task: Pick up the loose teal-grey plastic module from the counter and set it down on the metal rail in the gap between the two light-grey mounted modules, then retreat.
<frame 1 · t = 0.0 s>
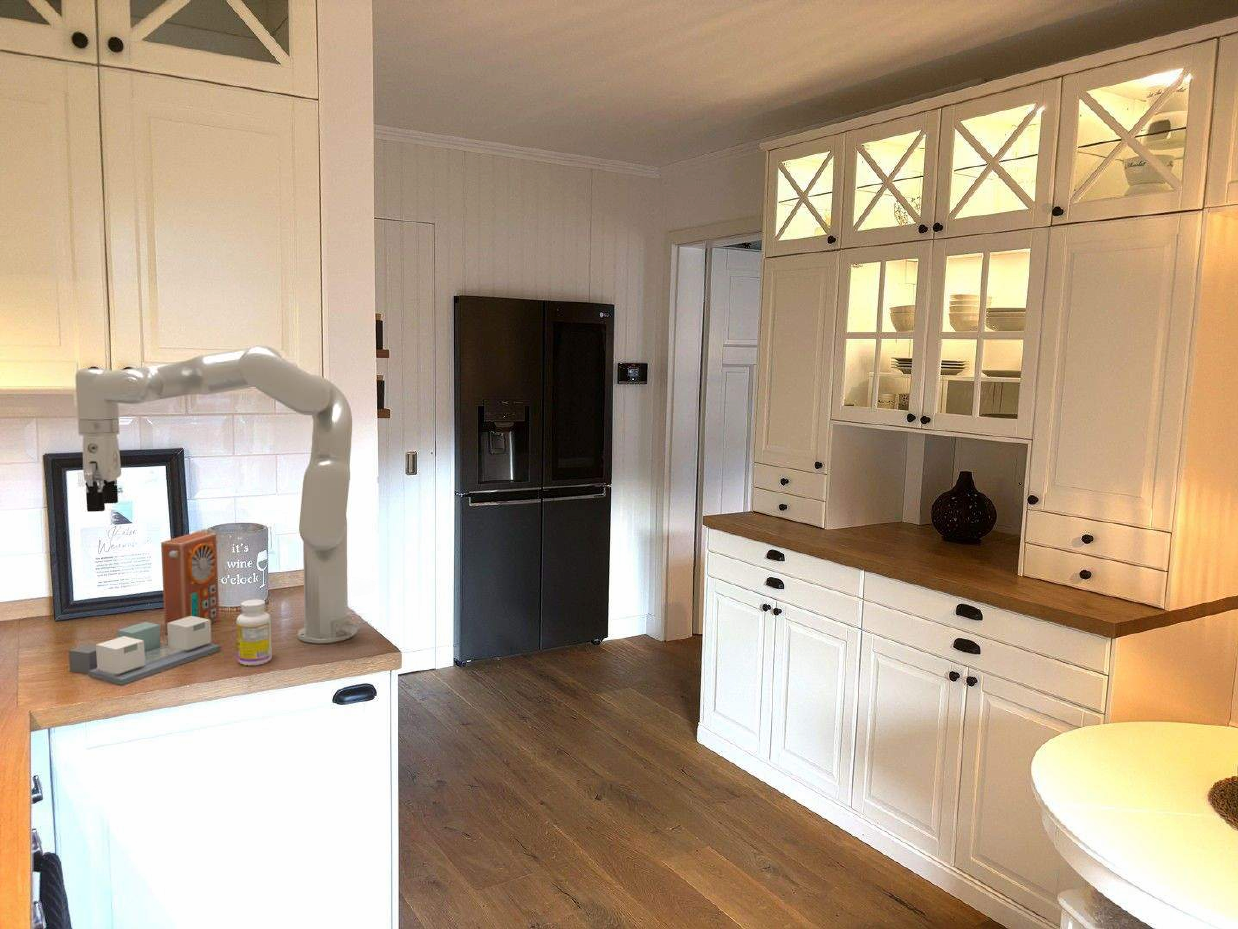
hand: (103, 507, 191), 31 cm above the countertop, tool pointing down, fingers open, 9 cm apart
mounted modules: (156, 643, 186), on the rail, point 4 cm above the countertop
control panel: (192, 627, 211), on the countertop
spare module: (90, 669, 182), on the countertop
module: (140, 654, 191), on the countertop
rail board: (157, 663, 186), on the countertop
supplement bottle: (255, 662, 189), on the countertop
rail: (157, 656, 186), on the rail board, point 1 cm above the countertop
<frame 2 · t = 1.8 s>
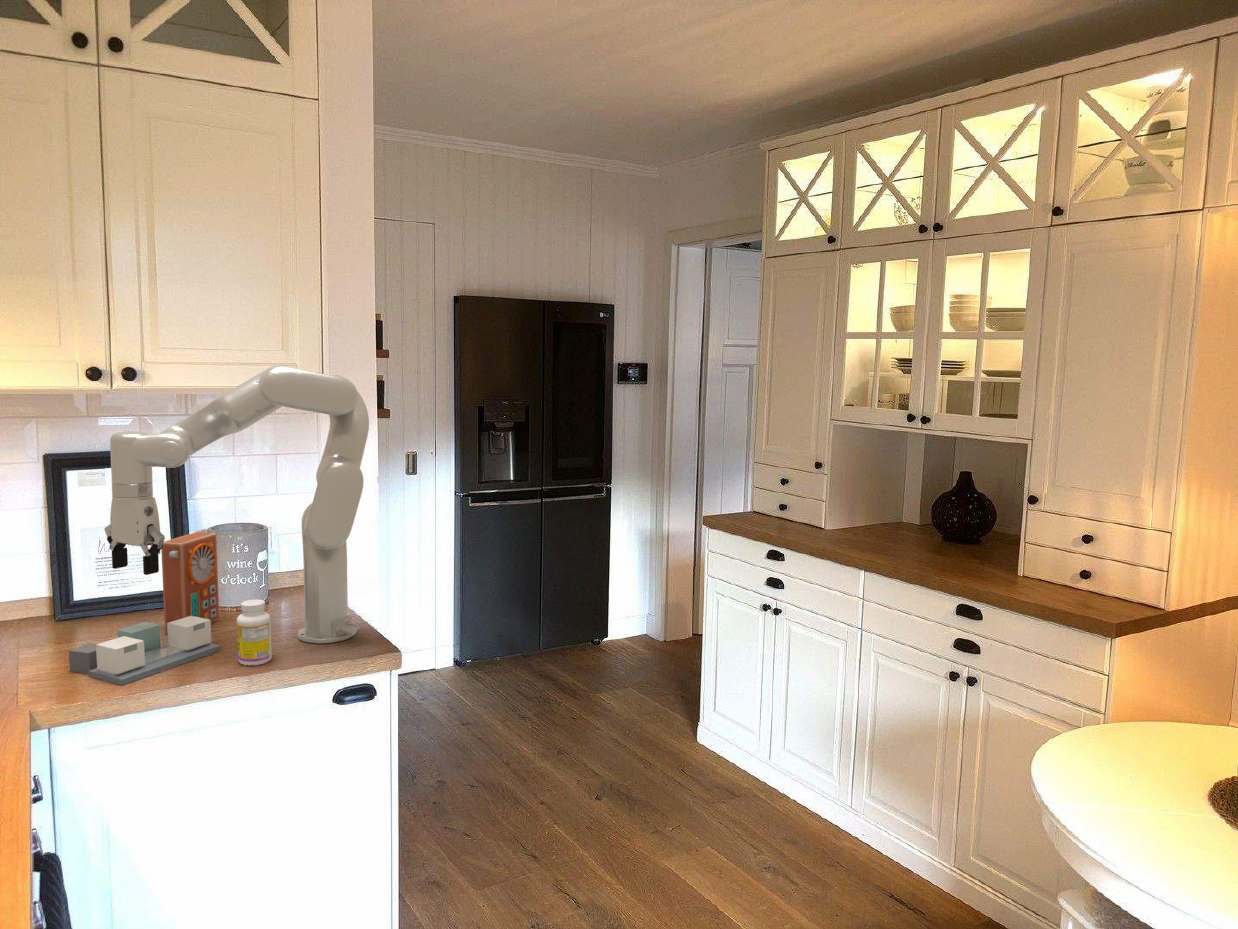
hand: (135, 570, 189), 18 cm above the countertop, tool pointing down, fingers open, 9 cm apart
nothing on the countertop moved.
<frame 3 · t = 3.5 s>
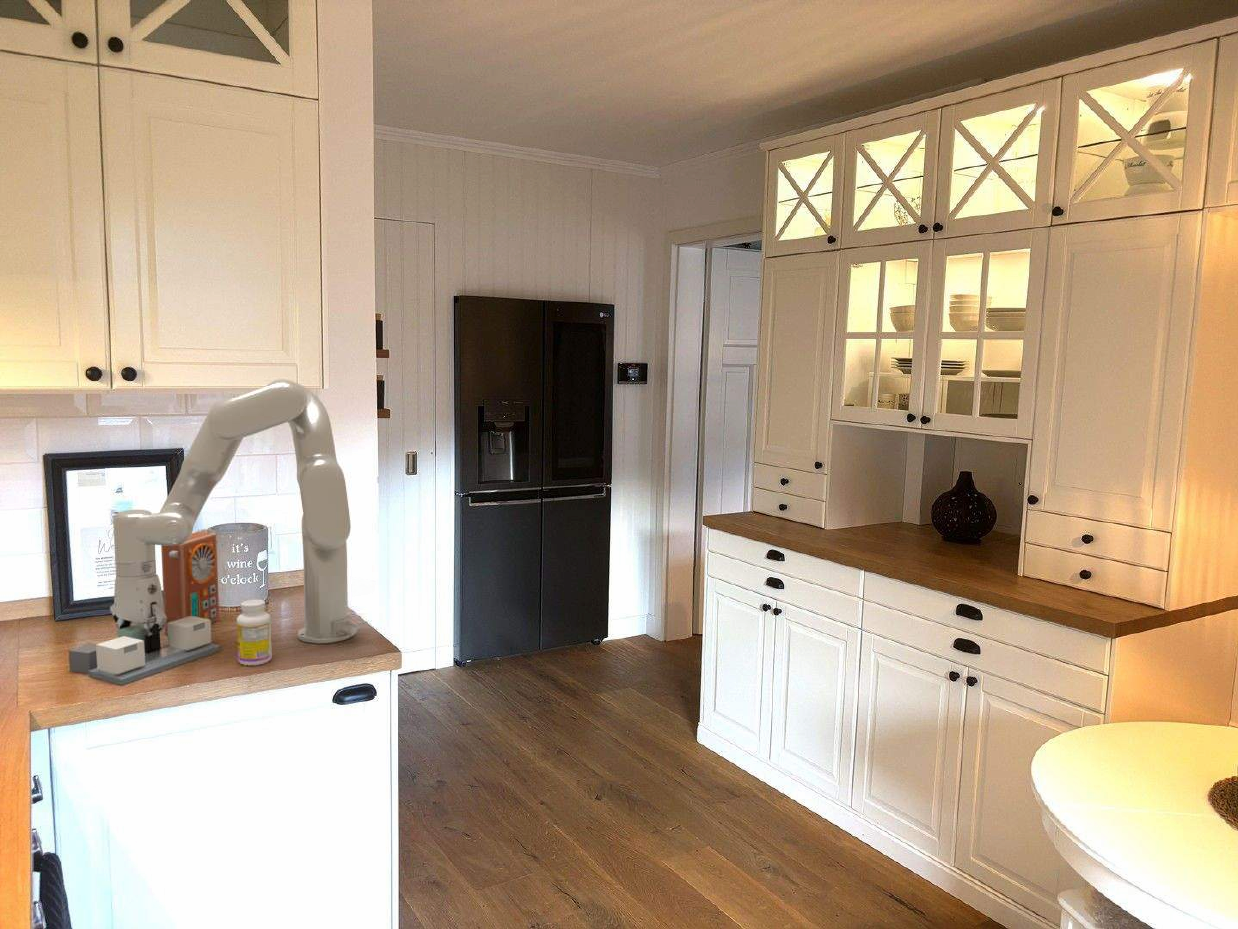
hand: (139, 648, 191), 1 cm above the countertop, tool pointing down, fingers open, 7 cm apart
nothing on the countertop moved.
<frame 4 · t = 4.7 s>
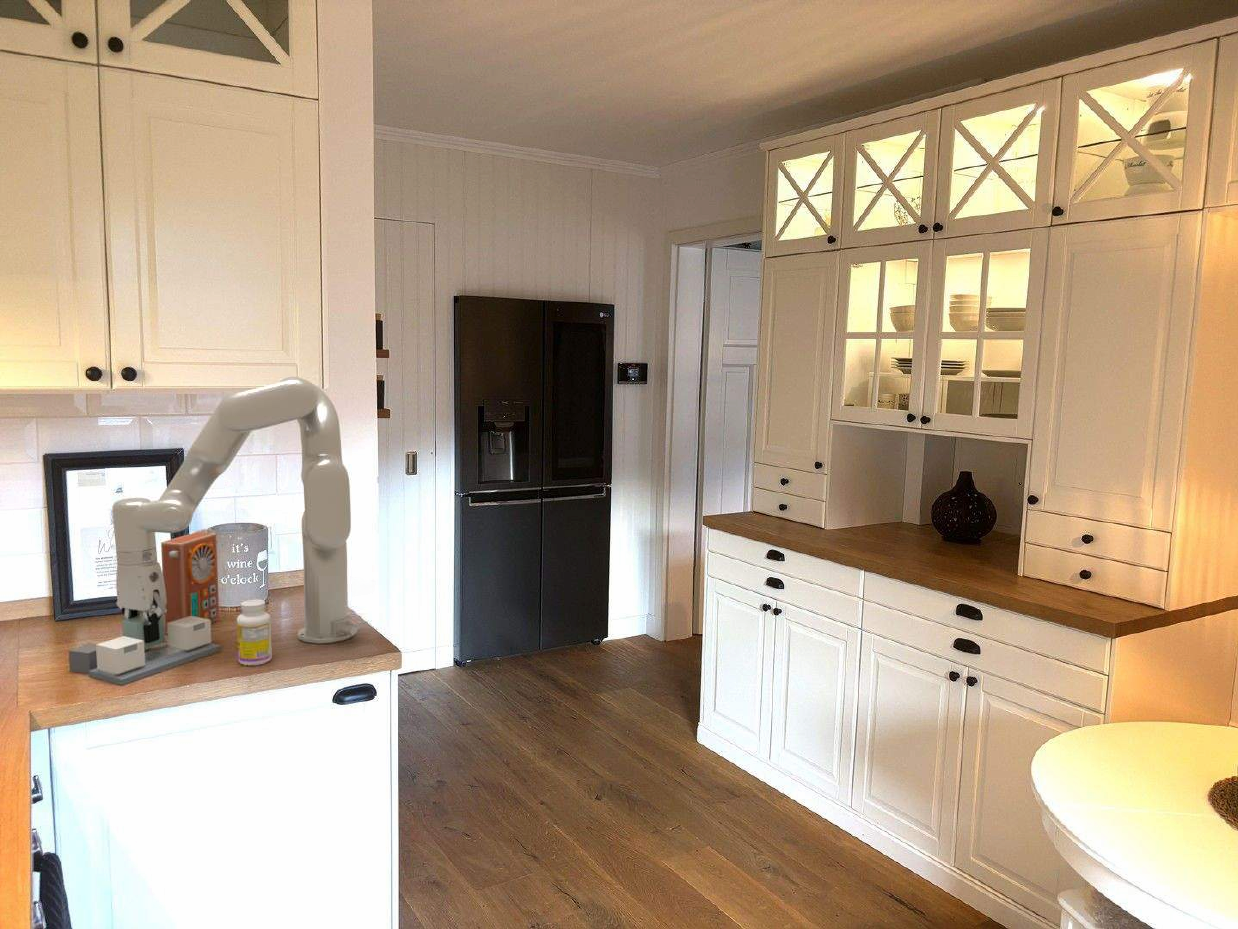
hand: (144, 638, 191), 3 cm above the countertop, tool pointing down, fingers closed on module, 4 cm apart
module: (145, 645, 192), point 2 cm above the countertop, touching gripper
everything else where it was.
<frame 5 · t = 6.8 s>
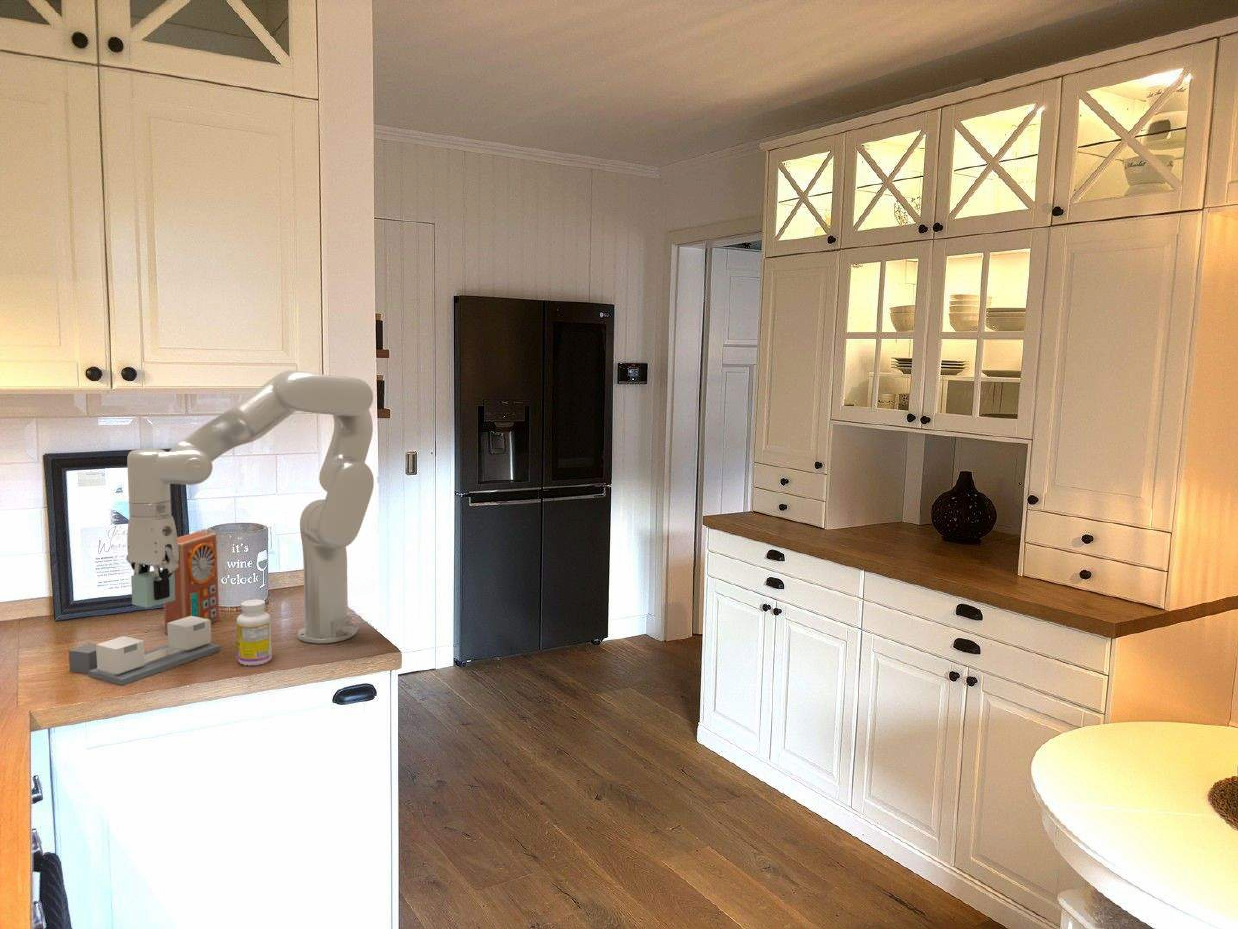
hand: (153, 595, 184), 14 cm above the countertop, tool pointing down, fingers closed on module, 4 cm apart
module: (153, 602, 185), point 13 cm above the countertop, touching gripper
everything else where it was.
when the fingers open (3 cm above the countertop, at t = 9.0 s): module stays where it is, resting on rail.
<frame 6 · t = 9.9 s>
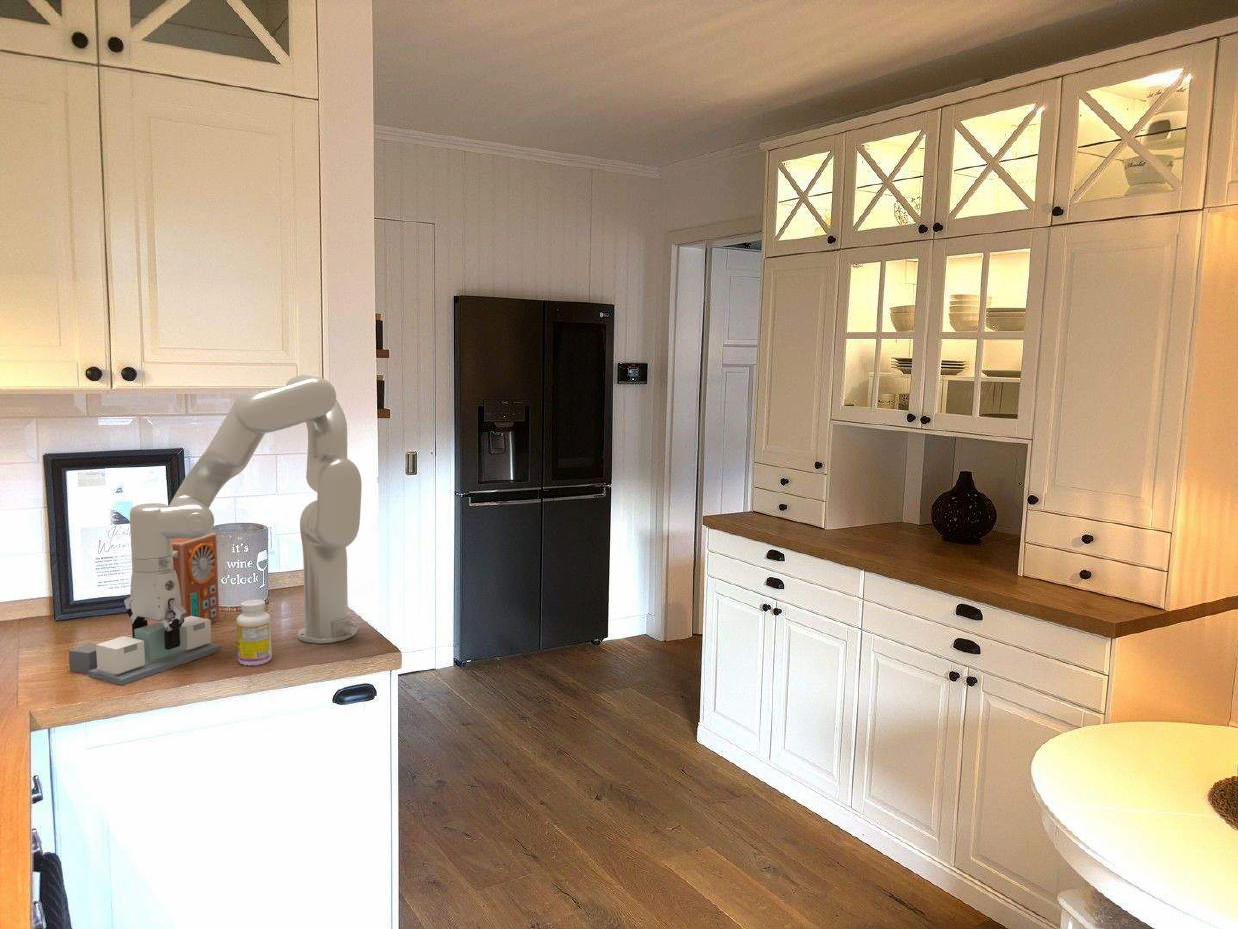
hand: (156, 644, 186), 4 cm above the countertop, tool pointing down, fingers open, 9 cm apart
module: (157, 654, 186), point 2 cm above the countertop, touching rail
everything else where it was.
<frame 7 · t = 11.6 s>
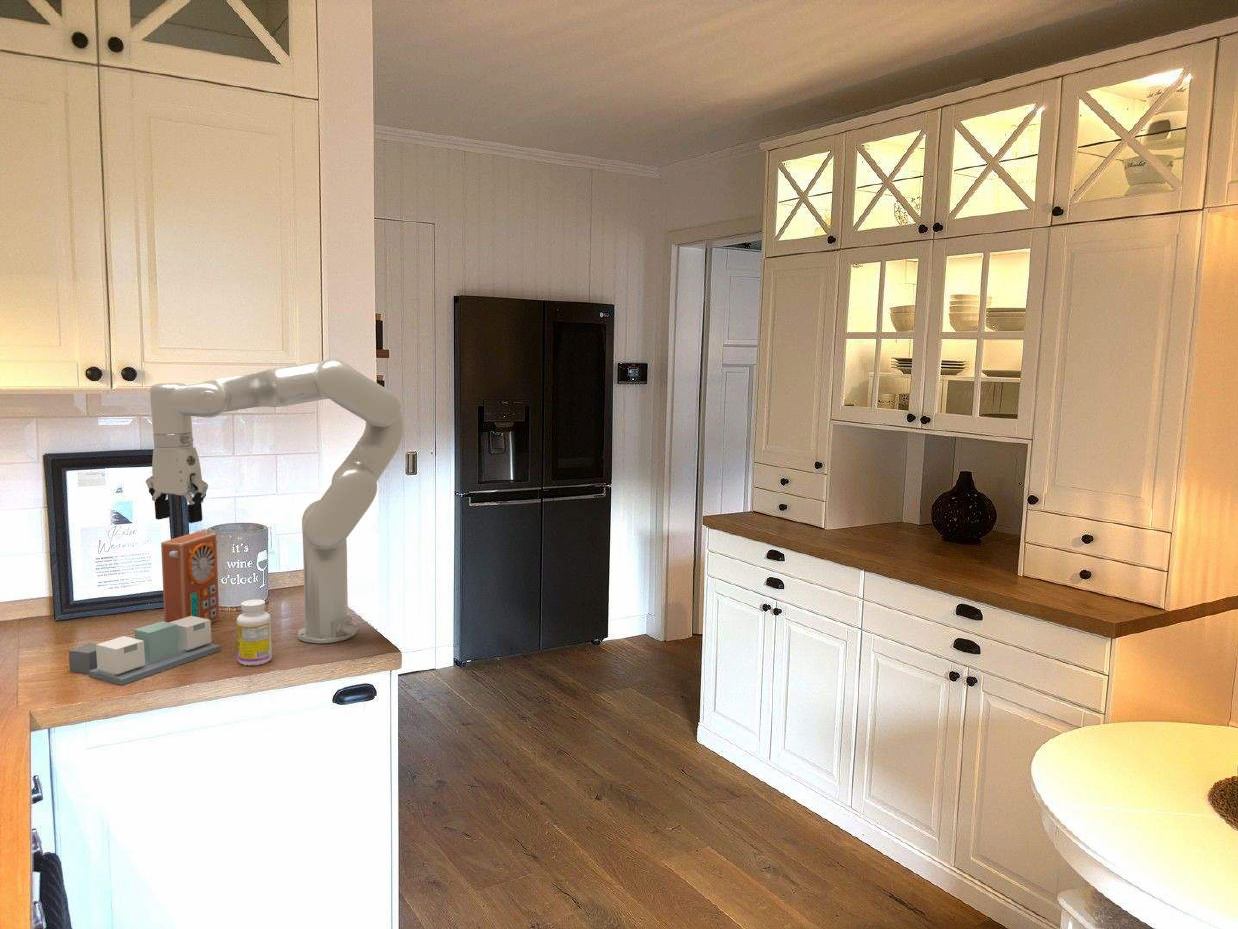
hand: (179, 520, 192), 28 cm above the countertop, tool pointing down, fingers open, 9 cm apart
nothing on the countertop moved.
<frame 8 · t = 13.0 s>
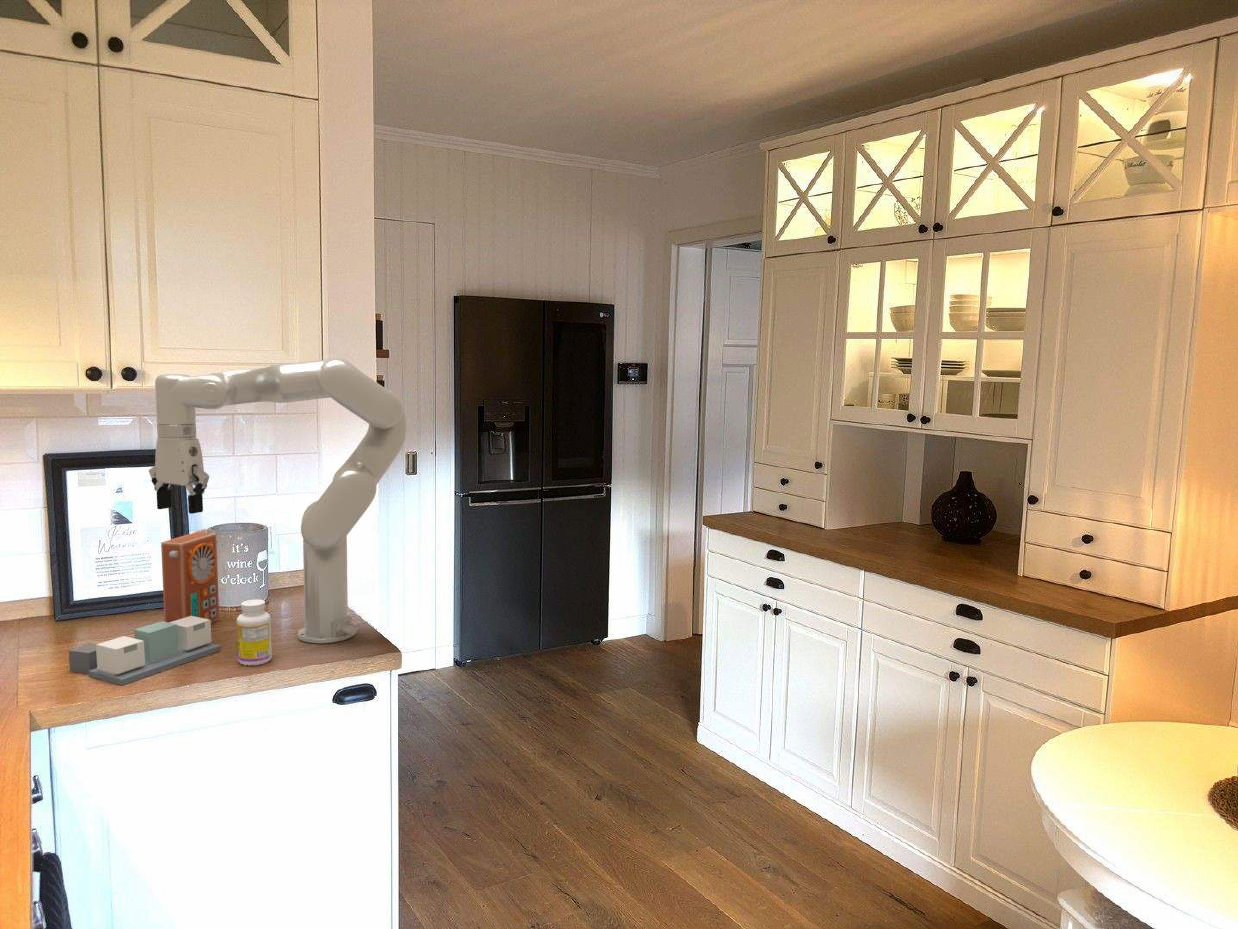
hand: (180, 510, 194), 30 cm above the countertop, tool pointing down, fingers open, 9 cm apart
nothing on the countertop moved.
at the end: module 0.1 cm off-centre on the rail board, point 1.8 cm above the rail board's base; module tilted 0°; the gripper is holding nothing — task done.
